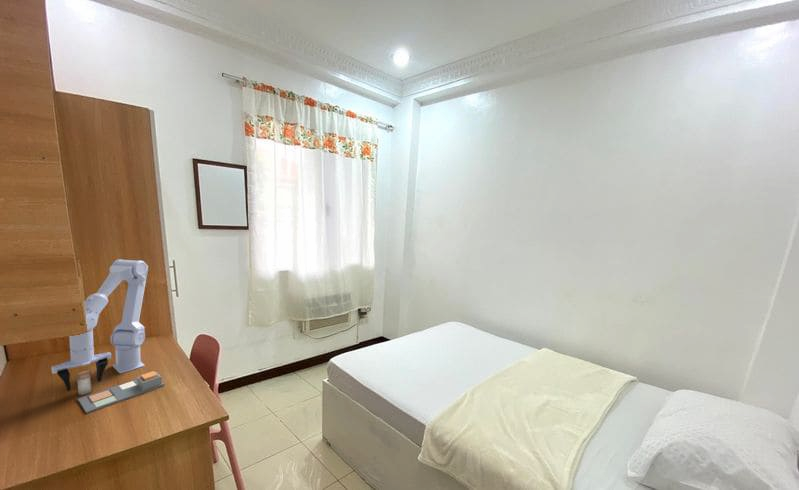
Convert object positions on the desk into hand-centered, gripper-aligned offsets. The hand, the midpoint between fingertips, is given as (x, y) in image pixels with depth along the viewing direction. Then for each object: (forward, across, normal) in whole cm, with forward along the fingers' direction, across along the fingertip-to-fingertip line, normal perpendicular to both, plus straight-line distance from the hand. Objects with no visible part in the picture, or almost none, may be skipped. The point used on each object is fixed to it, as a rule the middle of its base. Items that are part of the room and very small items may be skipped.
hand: (84, 384), depth 110 cm
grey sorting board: (+3, +8, -10) cm, 13 cm away
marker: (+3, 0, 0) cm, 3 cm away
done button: (+1, +15, -12) cm, 19 cm away
